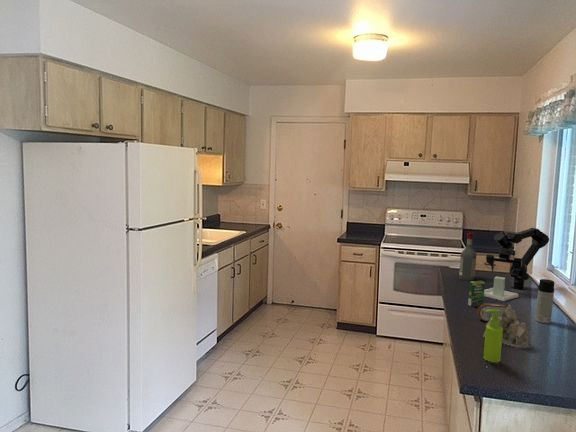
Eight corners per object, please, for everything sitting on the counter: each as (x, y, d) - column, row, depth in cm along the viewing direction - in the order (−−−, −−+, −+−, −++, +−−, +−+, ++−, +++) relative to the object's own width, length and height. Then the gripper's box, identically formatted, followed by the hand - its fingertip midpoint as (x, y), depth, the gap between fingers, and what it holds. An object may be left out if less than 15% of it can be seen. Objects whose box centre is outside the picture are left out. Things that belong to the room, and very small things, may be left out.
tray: (492, 290, 285) (493, 287, 284) (518, 297, 273) (518, 293, 272) (478, 294, 276) (478, 291, 275) (503, 301, 263) (504, 297, 263)
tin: (508, 321, 230) (510, 304, 229) (511, 323, 227) (512, 306, 226) (476, 319, 232) (477, 302, 231) (478, 321, 229) (479, 304, 228)
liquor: (474, 278, 314) (478, 232, 311) (473, 281, 306) (477, 234, 303) (459, 276, 318) (463, 231, 315) (458, 279, 310) (462, 233, 306)
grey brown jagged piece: (478, 333, 212) (483, 301, 209) (515, 336, 212) (521, 303, 209) (493, 349, 196) (499, 314, 194) (533, 352, 197) (539, 317, 194)
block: (494, 293, 277) (495, 276, 276) (503, 295, 275) (505, 277, 274) (492, 295, 273) (494, 278, 272) (502, 296, 271) (503, 279, 269)
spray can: (549, 320, 234) (553, 279, 232) (552, 324, 228) (556, 283, 225) (534, 318, 236) (538, 278, 234) (536, 322, 230) (540, 281, 227)
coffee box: (470, 307, 251) (472, 282, 249) (467, 305, 254) (468, 281, 252) (483, 306, 253) (485, 281, 252) (479, 304, 256) (481, 280, 255)
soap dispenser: (477, 357, 185) (482, 307, 183) (495, 357, 186) (499, 307, 184) (485, 364, 180) (489, 312, 177) (503, 364, 180) (507, 312, 178)
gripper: (488, 240, 282) (482, 262, 274) (523, 244, 272) (518, 267, 264) (489, 251, 290) (484, 273, 282) (523, 256, 280) (519, 278, 272)
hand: (501, 272), depth 275 cm, fingers open, 9 cm apart
